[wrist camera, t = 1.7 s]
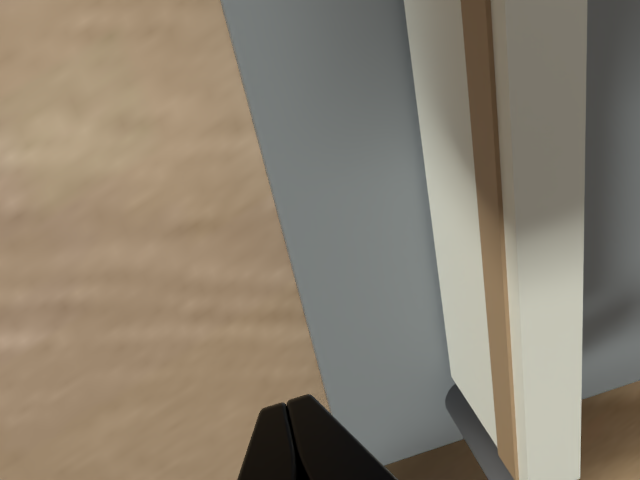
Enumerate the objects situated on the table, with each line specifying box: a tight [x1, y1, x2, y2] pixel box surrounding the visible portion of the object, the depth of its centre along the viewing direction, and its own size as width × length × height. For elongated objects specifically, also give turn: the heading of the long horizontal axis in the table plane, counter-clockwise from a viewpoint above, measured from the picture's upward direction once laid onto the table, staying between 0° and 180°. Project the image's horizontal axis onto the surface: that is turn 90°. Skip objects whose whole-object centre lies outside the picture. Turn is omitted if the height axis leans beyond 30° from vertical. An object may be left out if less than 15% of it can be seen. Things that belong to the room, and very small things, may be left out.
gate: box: [404, 0, 587, 480], centre depth 14 cm, size 14×2×5 cm, turn 12°
